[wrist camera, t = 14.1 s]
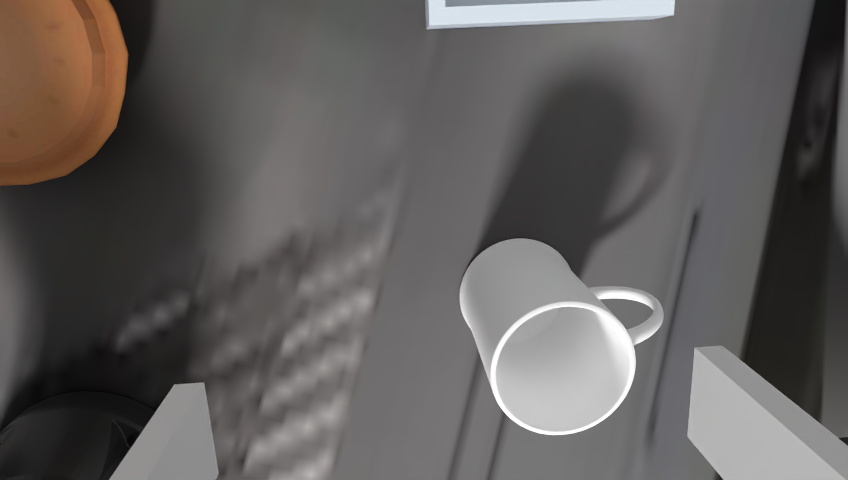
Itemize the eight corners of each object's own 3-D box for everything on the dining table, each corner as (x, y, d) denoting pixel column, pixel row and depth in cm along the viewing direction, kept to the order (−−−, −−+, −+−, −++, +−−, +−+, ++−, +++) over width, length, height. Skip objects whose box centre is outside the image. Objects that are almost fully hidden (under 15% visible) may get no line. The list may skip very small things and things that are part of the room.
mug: (613, 222, 43) (697, 275, 31) (620, 330, 45) (700, 416, 34) (451, 247, 43) (477, 311, 31) (466, 355, 45) (495, 451, 33)
